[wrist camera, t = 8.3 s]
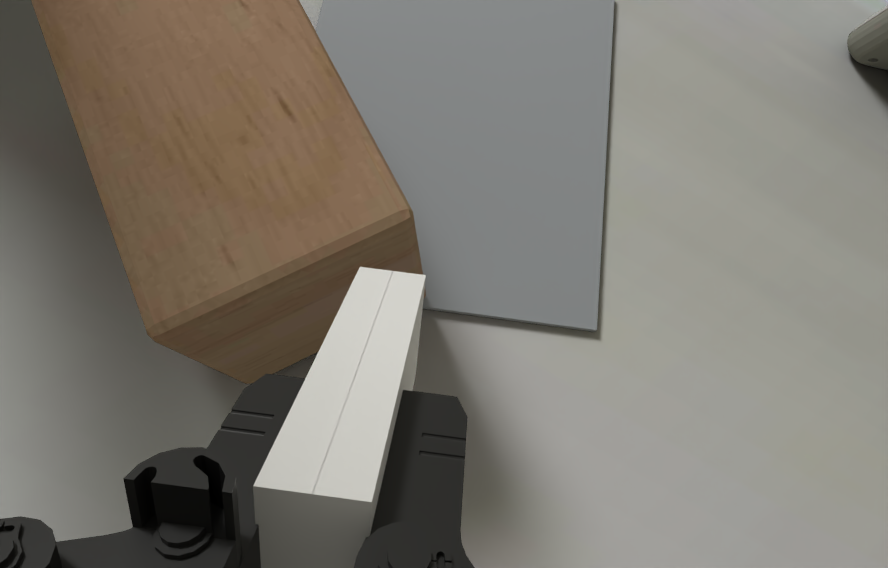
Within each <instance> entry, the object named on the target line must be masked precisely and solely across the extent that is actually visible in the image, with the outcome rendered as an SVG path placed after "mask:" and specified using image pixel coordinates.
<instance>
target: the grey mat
mask: <svg viewBox="0 0 888 568" xmlns="http://www.w3.org/2000/svg"><path fill="white" fill-rule="evenodd" d="M613 17H614V0H323V3H322V7H321V11H320V15H319V19H318V23H317V27H316V33H317V35H318V37H319V38H320V40H321V42H322V44H323V46H324V48H325V50H326V51H327V53H328V55H329V57H330V59H331V61H332V63H333V64H334V66H335V68H336V70H337V72H338V74H339V75H340V77H341V79H342V81H343V83H344V85H345V87H346V88H347V90H348V92H349V94H350V96H351V98H352V100H353V101H354V103H355V105H356V107H357V109H358V111H359V112H360V114H361V116H362V118H363V120H364V122H365V124H366V125H367V127H368V129H369V131H370V133H371V135H372V137H373V138H374V140H375V142H376V144H377V146H378V148H379V150H380V151H381V153H382V155H383V157H384V159H385V161H386V162H387V164H388V166H389V168H390V170H391V172H392V174H393V175H394V177H395V179H396V181H397V183H398V185H399V187H400V188H401V190H402V192H403V194H404V196H405V198H406V199H407V201H408V203H409V205H410V207H411V209H412V211H413V215H414V221H415V228H416V234H417V240H418V246H419V252H420V258H421V265H422V271H423V275H426V279H425V290H426V296H425V298H424V299H423V309H429V310H436V311H443V312H451V313H458V314H466V315H473V316H481V317H488V318H495V319H503V320H510V321H518V322H525V323H532V324H540V325H547V326H555V327H562V328H569V329H577V330H584V331H592V332H595V331H596V330H597V320H598V301H599V282H600V263H601V244H602V225H603V206H604V187H605V168H606V149H607V130H608V111H609V92H610V73H611V55H612V36H613Z"/></svg>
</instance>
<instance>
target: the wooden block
mask: <svg viewBox="0 0 888 568" xmlns="http://www.w3.org/2000/svg"><path fill="white" fill-rule="evenodd" d="M31 1H32V4H33V7H34V10H35V13H36V16H37V19H38V21H39V24H40V27H41V30H42V33H43V36H44V39H45V41H46V44H47V47H48V50H49V53H50V56H51V59H52V62H53V64H54V67H55V70H56V73H57V76H58V79H59V82H60V84H61V87H62V90H63V93H64V96H65V99H66V102H67V105H68V107H69V110H70V113H71V116H72V119H73V122H74V125H75V127H76V130H77V133H78V136H79V139H80V142H81V145H82V148H83V150H84V153H85V156H86V159H87V162H88V165H89V168H90V170H91V173H92V176H93V179H94V182H95V185H96V188H97V191H98V193H99V196H100V199H101V202H102V205H103V208H104V211H105V213H106V216H107V219H108V222H109V225H110V228H111V231H112V234H113V236H114V239H115V242H116V245H117V248H118V251H119V254H120V256H121V259H122V262H123V265H124V268H125V271H126V274H127V277H128V279H129V282H130V285H131V288H132V291H133V294H134V297H135V299H136V302H137V305H138V308H139V311H140V314H141V317H142V320H143V322H144V325H145V328H146V331H147V334H148V335H149V336H150V337H151V338H152V339H153V340H154V341H155V342H157V343H159V344H161V345H163V346H166V347H168V348H170V349H172V350H174V351H176V352H179V353H181V354H183V355H185V356H187V357H189V358H192V359H194V360H196V361H198V362H200V363H202V364H205V365H207V366H209V367H211V368H213V369H215V370H218V371H220V372H222V373H224V374H226V375H228V376H231V377H233V378H235V379H237V380H239V381H241V382H243V383H246V384H248V383H254V382H255V381H257V380H258V379H259V378H261V377H262V376H264V375H265V374H273V373H275V372H277V371H279V370H282V369H284V368H286V367H288V366H290V365H292V364H294V363H296V362H298V361H300V360H302V359H304V358H306V357H308V356H310V355H312V354H314V353H316V352H318V351H319V350H320V348H321V346H322V344H323V342H324V340H325V337H326V335H327V333H328V331H329V329H330V327H331V325H332V323H333V321H334V319H335V317H336V315H337V313H338V311H339V309H340V307H341V305H342V303H343V301H344V298H345V296H346V294H347V292H348V290H349V288H350V286H351V284H352V282H353V280H354V278H355V276H356V274H357V272H358V270H359V268H360V267H366V268H374V269H382V270H389V271H397V272H405V273H413V274H421V275H423V271H422V265H421V258H420V252H419V246H418V240H417V234H416V228H415V221H414V215H413V211H412V209H411V207H410V205H409V203H408V201H407V199H406V198H405V196H404V194H403V192H402V190H401V188H400V187H399V185H398V183H397V181H396V179H395V177H394V175H393V174H392V172H391V170H390V168H389V166H388V164H387V162H386V161H385V159H384V157H383V155H382V153H381V151H380V150H379V148H378V146H377V144H376V142H375V140H374V138H373V137H372V135H371V133H370V131H369V129H368V127H367V125H366V124H365V122H364V120H363V118H362V116H361V114H360V112H359V111H358V109H357V107H356V105H355V103H354V101H353V100H352V98H351V96H350V94H349V92H348V90H347V88H346V87H345V85H344V83H343V81H342V79H341V77H340V75H339V74H338V72H337V70H336V68H335V66H334V64H333V63H332V61H331V59H330V57H329V55H328V53H327V51H326V50H325V48H324V46H323V44H322V42H321V40H320V38H319V37H318V35H317V33H316V31H315V29H314V27H313V26H312V24H311V22H310V20H309V18H308V16H307V14H306V13H305V11H304V9H303V7H302V5H301V3H300V1H299V0H31ZM425 296H426V290H425V289H424V298H425Z"/></svg>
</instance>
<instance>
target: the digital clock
mask: <svg viewBox="0 0 888 568" xmlns="http://www.w3.org/2000/svg"><path fill="white" fill-rule="evenodd" d="M847 44H848V50H849V52H850V54H851V55H852V57H853V58H854V59H855V60H856V61H857V62H859V63H861V64H864V65H868V66H872V67H876V68H881V69H885V70H888V5H887V6H886V7H884V8H883V9H881V10H880V11H878V12H877V13H875V14H874V15H872V16H871V17H870V18H868V19H867V20H866V21H864V22H863V23H862V24H861V25H859V26H858V27H857V28H856V29H854V30H853V31H852V32H851V33H850V34H849V37H848V42H847Z"/></svg>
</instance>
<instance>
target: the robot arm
mask: <svg viewBox="0 0 888 568" xmlns="http://www.w3.org/2000/svg"><path fill="white" fill-rule="evenodd" d="M425 279H426V275H421V274H413V273H405V272H397V271H389V270H382V269H374V268H366V267H360V268H359V270H358V272H357V274H356V276H355V278H354V280H353V282H352V284H351V286H350V288H349V290H348V292H347V294H346V296H345V298H344V301H343V303H342V305H341V307H340V309H339V311H338V313H337V315H336V317H335V319H334V321H333V323H332V325H331V327H330V329H329V331H328V333H327V335H326V337H325V340H324V342H323V344H322V346H321V348H320V350H319V352H318V354H317V356H316V358H315V360H314V362H313V364H312V366H311V368H310V370H309V372H308V374H307V376H306V378H305V379H303V378H295V377H288V376H280V375H273V374H265V375H264V376H262V377H261V378H259V379H258V380H257V381H255V382H254V383H252V384H251V385H250V386H248V387H247V388H245V389H244V390H243V392H242V394H241V395H240V397H239V398H238V400H237V402H236V403H235V405H234V406H233V408H232V411H231V413H229V414H228V416H227V418H226V419H225V421H224V422H223V424H222V425H221V430H218V432H217V433H216V435H215V437H214V438H213V440H212V441H211V443H210V445H209V446H208V448H207V449H205V448H178V449H174V450H170V451H166V452H162V453H159V454H157V455H155V456H153V457H151V458H149V459H147V460H146V461H144V462H142V463H140V464H138V465H137V466H136V467H135V468H134V469H133V470H132V471H131V472H130V473H129V474H128V475H127V476H126V477H125V478H124V483H125V488H126V493H127V499H128V504H129V509H130V514H131V520H132V525H133V527H132V528H131V529H129V530H126V531H123V532H118V533H114V534H109V535H104V536H96V537H89V538H82V539H75V540H68V541H60V542H56V541H55V538H54V534H53V530H52V529H51V528H50V527H48V526H47V525H46V524H44V523H43V522H42V521H41V520H37V519H32V518H26V517H13V518H5V519H0V568H474V566H473V565H472V563H471V562H470V560H469V559H468V558H467V556H466V554H465V551H464V548H463V546H462V543H461V533H460V527H461V510H462V494H463V478H464V459H465V445H466V443H465V442H466V429H467V415H466V413H465V412H464V410H463V408H462V406H461V404H460V402H459V400H458V398H457V397H454V396H446V395H439V394H431V393H423V392H416V391H413V386H414V381H415V376H416V368H417V358H418V348H419V339H420V329H421V319H422V309H423V299H424V289H425Z"/></svg>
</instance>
